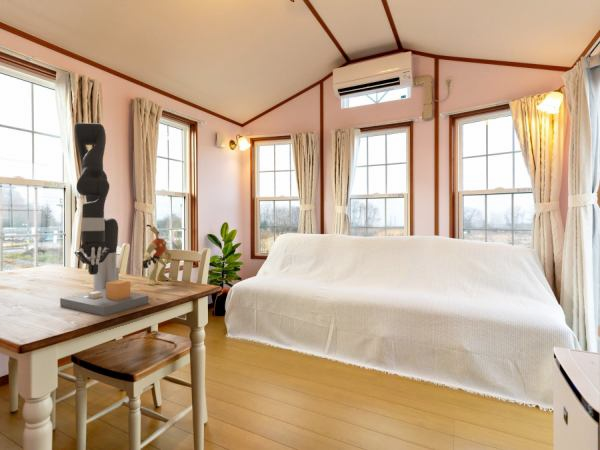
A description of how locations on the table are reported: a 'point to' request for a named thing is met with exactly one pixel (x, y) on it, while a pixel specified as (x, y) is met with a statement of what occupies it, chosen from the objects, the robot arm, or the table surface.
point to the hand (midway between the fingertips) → (93, 274)
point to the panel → (102, 303)
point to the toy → (156, 258)
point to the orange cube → (118, 289)
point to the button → (95, 295)
